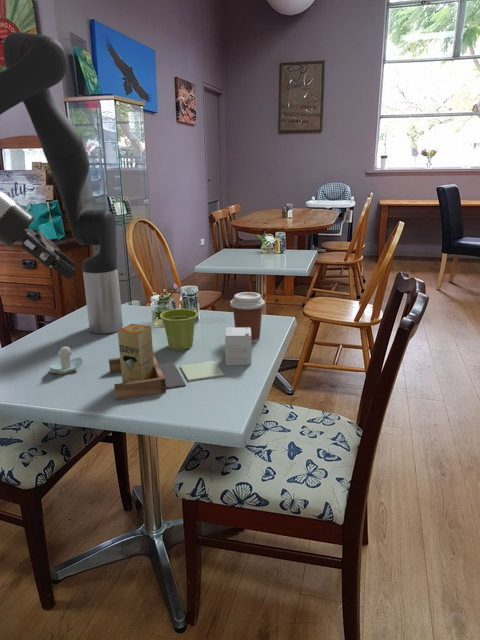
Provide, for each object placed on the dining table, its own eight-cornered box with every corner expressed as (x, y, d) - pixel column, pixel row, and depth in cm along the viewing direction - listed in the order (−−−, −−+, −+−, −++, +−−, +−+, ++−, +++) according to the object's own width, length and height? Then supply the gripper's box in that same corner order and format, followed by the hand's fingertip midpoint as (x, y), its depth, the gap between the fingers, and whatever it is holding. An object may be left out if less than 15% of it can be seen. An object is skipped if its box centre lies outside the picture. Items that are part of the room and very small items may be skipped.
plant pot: (192, 354, 119) (191, 320, 116) (156, 351, 121) (154, 318, 118) (203, 341, 128) (202, 309, 125) (169, 339, 130) (167, 308, 127)
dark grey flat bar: (157, 367, 112) (157, 366, 112) (174, 364, 113) (174, 363, 113) (167, 388, 101) (166, 387, 101) (185, 385, 102) (185, 384, 102)
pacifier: (44, 372, 111) (54, 379, 106) (40, 346, 109) (50, 352, 105) (74, 363, 115) (86, 369, 111) (71, 338, 114) (82, 344, 109)
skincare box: (226, 355, 118) (225, 327, 116) (251, 355, 118) (250, 326, 116) (225, 365, 112) (224, 335, 110) (251, 365, 112) (251, 335, 110)
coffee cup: (266, 334, 133) (267, 291, 129) (262, 345, 124) (262, 300, 120) (234, 332, 134) (233, 290, 130) (227, 344, 126) (226, 299, 122)
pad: (180, 367, 111) (180, 365, 111) (213, 362, 114) (213, 361, 114) (188, 381, 104) (188, 379, 104) (223, 375, 107) (223, 374, 106)
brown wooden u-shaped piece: (109, 371, 110) (108, 359, 109) (153, 365, 113) (153, 353, 112) (116, 400, 96) (114, 386, 95) (166, 392, 99) (165, 378, 98)
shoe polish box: (135, 374, 108) (131, 323, 104) (154, 378, 106) (151, 326, 102) (122, 383, 103) (117, 330, 100) (142, 387, 102) (137, 333, 98)
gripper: (10, 202, 84) (86, 263, 90) (17, 198, 96) (83, 252, 103) (-19, 235, 83) (59, 293, 90) (-8, 226, 96) (60, 278, 103)
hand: (72, 271), depth 97 cm, fingers open, 8 cm apart
